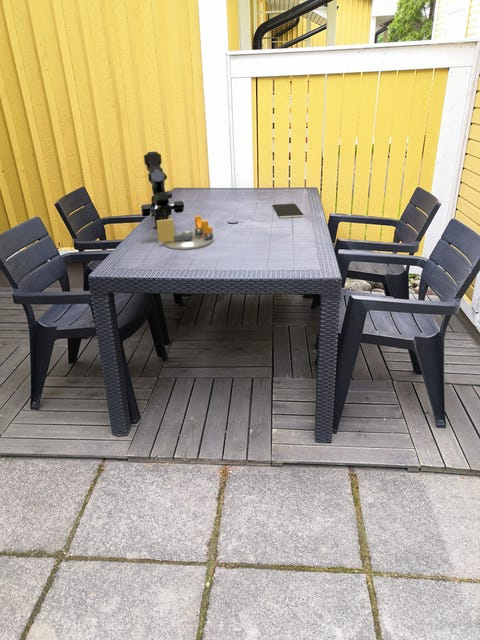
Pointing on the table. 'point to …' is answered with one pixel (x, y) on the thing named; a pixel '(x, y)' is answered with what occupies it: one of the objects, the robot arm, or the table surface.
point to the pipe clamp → (202, 225)
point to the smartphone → (287, 211)
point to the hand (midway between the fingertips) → (166, 224)
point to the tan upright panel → (170, 232)
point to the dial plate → (191, 241)
